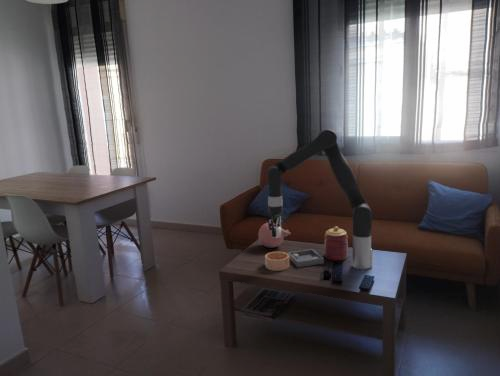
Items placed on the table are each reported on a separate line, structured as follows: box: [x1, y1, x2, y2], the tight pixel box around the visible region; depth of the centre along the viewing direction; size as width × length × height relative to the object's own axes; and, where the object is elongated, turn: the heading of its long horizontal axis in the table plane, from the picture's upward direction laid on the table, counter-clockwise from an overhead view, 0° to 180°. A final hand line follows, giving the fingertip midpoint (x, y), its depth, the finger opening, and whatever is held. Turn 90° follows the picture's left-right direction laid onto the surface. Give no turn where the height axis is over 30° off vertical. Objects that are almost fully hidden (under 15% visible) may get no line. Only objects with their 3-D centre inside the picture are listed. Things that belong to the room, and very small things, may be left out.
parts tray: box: [287, 248, 325, 268], centre depth 226 cm, size 15×15×3 cm
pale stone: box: [271, 226, 282, 238], centre depth 217 cm, size 5×5×5 cm
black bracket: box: [320, 267, 332, 282], centre depth 204 cm, size 12×7×5 cm, turn 171°
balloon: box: [257, 222, 292, 249], centre depth 247 cm, size 15×20×15 cm
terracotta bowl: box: [264, 251, 290, 272], centre depth 220 cm, size 13×13×6 cm
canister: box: [323, 225, 349, 261], centre depth 228 cm, size 13×13×18 cm
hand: (276, 235), depth 217 cm, fingers closed on pale stone, 5 cm apart
